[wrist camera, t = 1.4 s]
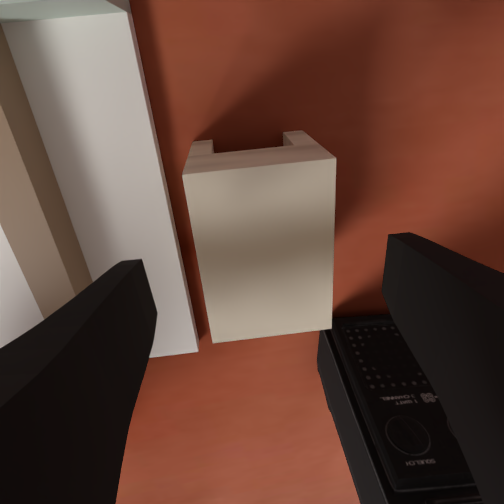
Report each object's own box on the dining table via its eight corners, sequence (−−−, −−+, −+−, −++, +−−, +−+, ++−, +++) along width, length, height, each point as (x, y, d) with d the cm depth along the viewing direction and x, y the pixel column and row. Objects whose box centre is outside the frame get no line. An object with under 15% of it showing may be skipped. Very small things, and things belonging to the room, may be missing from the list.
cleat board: (199, 341, 24) (194, 403, 20) (19, 363, 24) (-27, 431, 19) (122, -30, 15) (81, -69, 10) (-181, -3, 14) (-361, -32, 10)
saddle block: (304, 264, 22) (331, 328, 17) (214, 275, 22) (212, 343, 17) (302, 129, 18) (336, 158, 13) (192, 141, 18) (182, 174, 13)
